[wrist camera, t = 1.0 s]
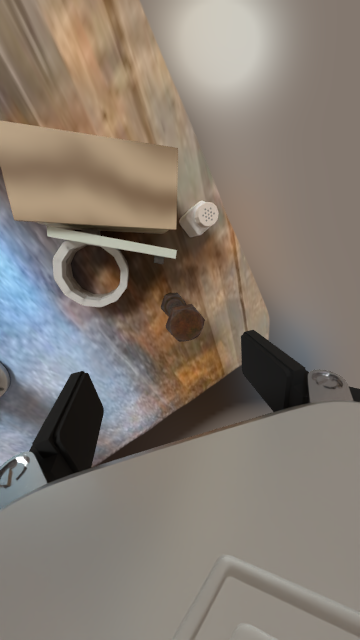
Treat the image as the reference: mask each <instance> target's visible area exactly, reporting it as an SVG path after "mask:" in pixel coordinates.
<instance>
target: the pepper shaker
mask: <svg viewBox="0 0 360 640" xmlns="http://www.w3.org/2000/svg"><path fill="white" fill-rule="evenodd" d="M218 213H219V212H218V209H217V207H216V206H215V205H214V204H213V203H211V202H204V201H199V202H198V203H197V204H196V205H194V206H193V207H192V208H191V209H190V210H189V211H187V212H186V213H185V214H184V215H183V216H182V217H181V218H180V220H179V223H180V225H181V226H182V228H183V229H184V230H185V232H186V233H187V234H188V236H189V237H195V236H199V235H202V234H203V233H204V232H205V231H206V230H207V229H208V228H209V227H210V226H212V225H214V224H215V223H216V221H217V219H218Z"/></svg>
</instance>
